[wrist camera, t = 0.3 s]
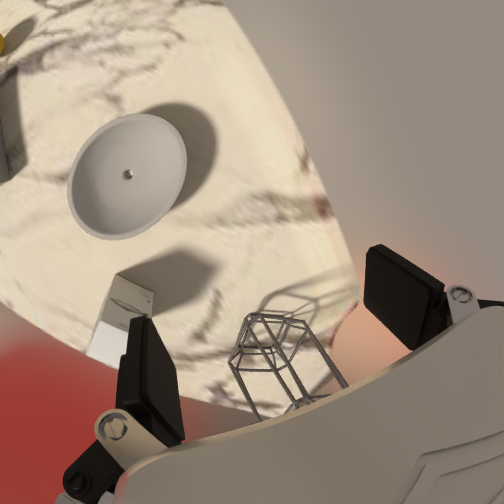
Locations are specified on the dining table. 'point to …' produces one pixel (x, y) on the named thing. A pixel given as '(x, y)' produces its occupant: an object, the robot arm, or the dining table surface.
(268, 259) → the dining table surface
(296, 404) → the geometric lantern
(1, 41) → the lemon
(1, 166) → the tote
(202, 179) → the dining table surface
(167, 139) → the dish
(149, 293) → the supplement box
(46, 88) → the dining table surface
